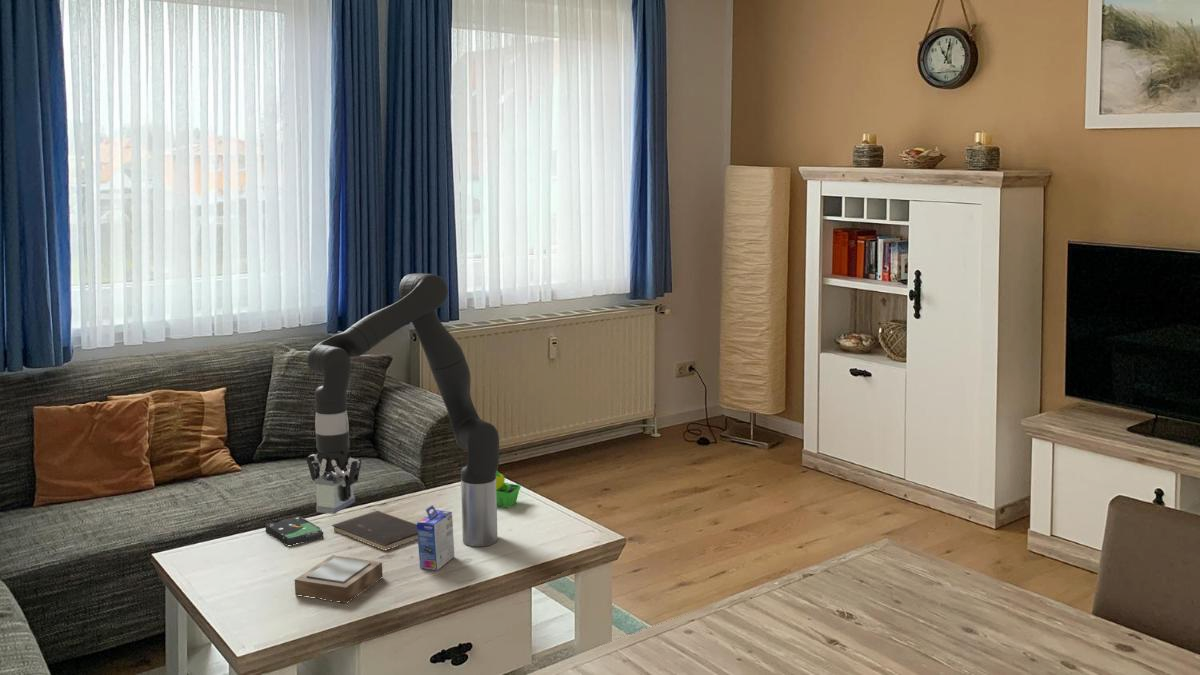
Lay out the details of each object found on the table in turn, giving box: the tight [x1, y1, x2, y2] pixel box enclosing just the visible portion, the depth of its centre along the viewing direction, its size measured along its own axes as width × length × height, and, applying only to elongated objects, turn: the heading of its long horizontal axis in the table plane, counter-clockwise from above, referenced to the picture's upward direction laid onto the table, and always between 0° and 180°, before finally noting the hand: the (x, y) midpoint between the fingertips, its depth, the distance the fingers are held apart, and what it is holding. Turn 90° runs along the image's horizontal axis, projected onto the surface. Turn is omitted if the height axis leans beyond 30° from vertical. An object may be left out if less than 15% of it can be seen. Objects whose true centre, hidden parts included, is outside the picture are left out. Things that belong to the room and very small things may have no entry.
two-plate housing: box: [314, 468, 356, 515], centre depth 256 cm, size 5×9×8 cm, turn 161°
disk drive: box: [264, 515, 324, 546], centre depth 295 cm, size 10×3×15 cm
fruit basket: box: [496, 470, 522, 508], centre depth 318 cm, size 11×9×11 cm
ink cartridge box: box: [416, 505, 455, 571], centre depth 274 cm, size 10×6×14 cm, turn 161°
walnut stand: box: [294, 554, 384, 604], centre depth 260 cm, size 16×14×4 cm
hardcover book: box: [331, 510, 418, 551], centre depth 296 cm, size 16×23×2 cm
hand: (335, 498), depth 256 cm, fingers closed on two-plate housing, 4 cm apart
